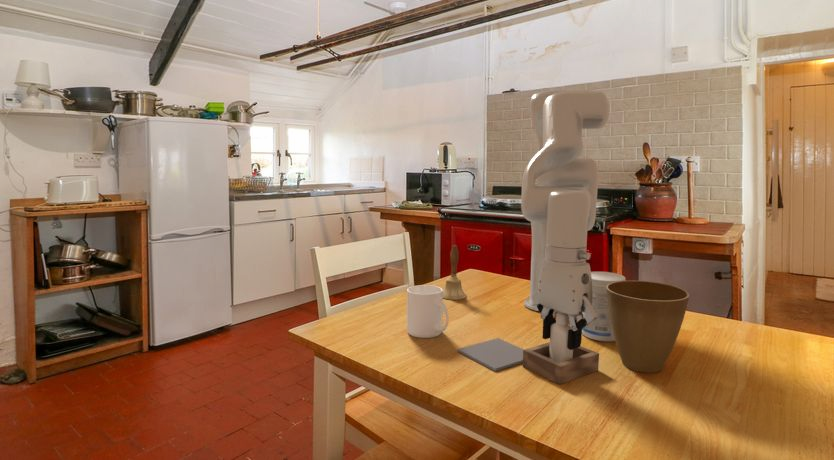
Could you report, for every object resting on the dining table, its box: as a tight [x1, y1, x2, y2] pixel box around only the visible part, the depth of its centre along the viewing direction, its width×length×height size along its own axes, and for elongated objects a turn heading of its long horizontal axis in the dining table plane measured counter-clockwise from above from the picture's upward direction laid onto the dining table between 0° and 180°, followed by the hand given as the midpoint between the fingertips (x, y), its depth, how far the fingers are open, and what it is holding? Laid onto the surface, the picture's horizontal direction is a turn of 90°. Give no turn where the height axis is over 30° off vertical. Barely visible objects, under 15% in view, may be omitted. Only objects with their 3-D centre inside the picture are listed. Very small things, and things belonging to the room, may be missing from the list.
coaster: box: [456, 337, 525, 372], centre depth 102 cm, size 12×12×1 cm
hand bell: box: [443, 244, 467, 301], centre depth 146 cm, size 8×8×16 cm
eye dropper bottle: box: [549, 312, 573, 363], centre depth 95 cm, size 4×6×12 cm
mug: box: [406, 284, 449, 339], centre depth 113 cm, size 9×12×11 cm
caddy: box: [522, 341, 600, 385], centre depth 95 cm, size 11×9×4 cm
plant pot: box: [606, 280, 690, 373], centre depth 96 cm, size 15×15×16 cm
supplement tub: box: [582, 271, 627, 343], centre depth 113 cm, size 10×10×15 cm
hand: (561, 341), depth 95 cm, fingers closed on eye dropper bottle, 5 cm apart
